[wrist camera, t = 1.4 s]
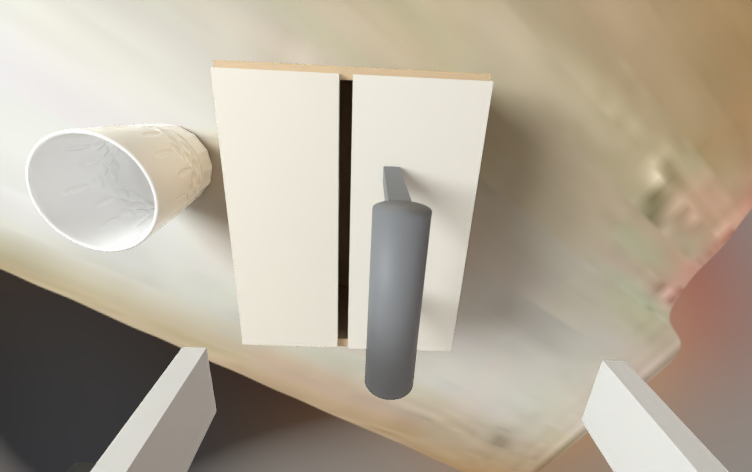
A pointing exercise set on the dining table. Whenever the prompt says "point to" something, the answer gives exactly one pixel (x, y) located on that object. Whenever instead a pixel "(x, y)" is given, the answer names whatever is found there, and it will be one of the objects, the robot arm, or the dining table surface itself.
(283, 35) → the dining table surface
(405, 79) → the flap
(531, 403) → the dining table surface
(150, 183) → the white cup
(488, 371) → the dining table surface
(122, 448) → the robot arm
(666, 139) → the dining table surface
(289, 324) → the cabinet
